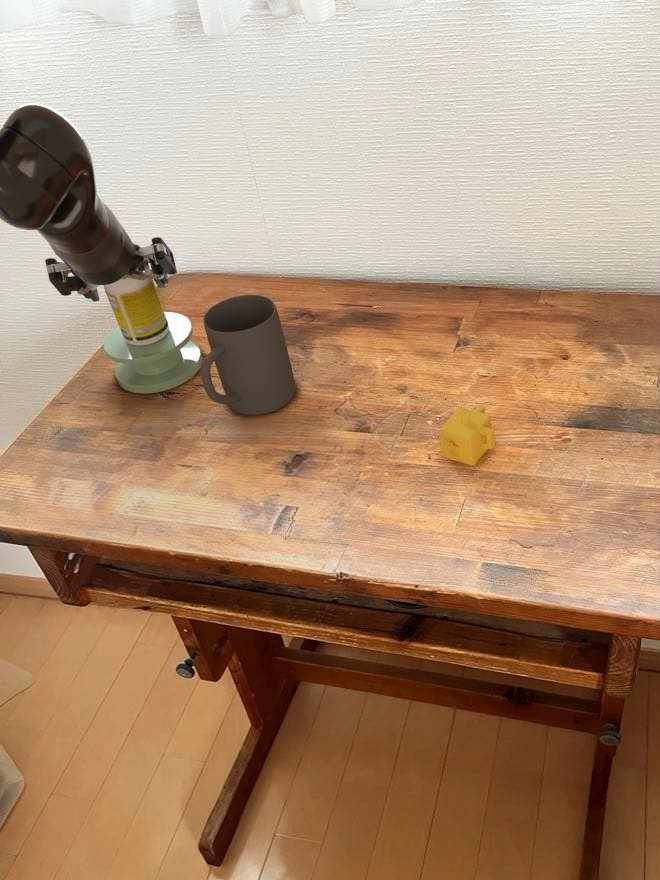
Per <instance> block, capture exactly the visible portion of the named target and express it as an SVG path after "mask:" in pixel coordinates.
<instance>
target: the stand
mask: <svg viewBox="0 0 660 880" xmlns="http://www.w3.org/2000/svg"><path fill="white" fill-rule="evenodd" d="M164 313H165V315H166V318H167V321H168V324H169V331H168V333H167V334H166V336H164V337H163V338H162V339H161V340H159V341H157V342H155V343H152V344H149V345H144V346H136V345H131V344H129V343H127V342H126V340H125V339H124V337H123V334H122V332H121V330H120V327H119V325H117V326H116V327H114V328H113V329H112V330H111V331H109V333H107V335H106V337H105V339H104V341H103V350H104V353H105V354H106V356H107V357H108V358H109V359H110V360H111V361H112V362H113V361H114V362H115V363H116V364H115V367H114V376H115V378H116V381H117V383H118V385H119V386H120V387H121V388H122V389H123V390H125V391H127V392H130V393H135V394H155V393H160V392H165V391H168V390H172V389H174V388H177V387H178V386H181V385H183V384H185V383H186V382H187V381H189V380H191V379H193V377H194V376H195V375H196V374H197V373H198V372H200V369H201V364H202V361H203V360H204V359H203V355H202V352H201V349H200V347H199V346H198V345H197V344H196V343H195V342H194V341H191V339H192V336H193V333H194V329H193V328H194V327H193V325H192V322H191V321H190V319H189V318H188V317H187V316H185V315H183V314H180V313H178V312H171V311H164Z"/></svg>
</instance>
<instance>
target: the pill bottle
mask: <svg viewBox="0 0 660 880" xmlns="http://www.w3.org/2000/svg"><path fill="white" fill-rule="evenodd" d="M136 271H138V268H137V269H136ZM102 286H103V289H104V293H105V295H106V297H107V299H108V302H109V305H110V307H111V310H112V312H113V314H114V317H115V319H116V323H117V325H118V326H119V327H120V330H121V332H122V334H123V337H124V339H125V340H126V342H127V343H129V344H131V345H136V346H144V345H149V344H152V343H155V342H157V341H159V340H161V339H162V338H163V337H164V336H166V334H167V333H168V331H169V324H168V321H167V318H166V315H165V313H164V312H165V309H164V307H163V304H162V301H161V298H160V296H159V293H158V290H157V287H156V284H155V281H154V279H152V278H147V279H145V280H137V279H132V278H126V279H120V280H118V281H117V282H114V283H112V284H108V285H102Z"/></svg>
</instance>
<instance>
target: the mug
mask: <svg viewBox="0 0 660 880" xmlns="http://www.w3.org/2000/svg"><path fill="white" fill-rule="evenodd" d="M203 327H204V330H205V334H206V338H207V341H208V345H209V348H210V352H208V354H207V355H206V356H205V357H204V358H203V359H202V360H203V361H202V364H201V368H200V369H199V372H200V380H201V382H202V387H203V390H204V391H205V393H206V395H207V397H208V398H209V399H210V400H211V401H212V402H214V403H217V404H219V405H226V406H230V407H231V409H233V410H234V411H235V412H237V413H239V414H242V415H247V416H259V415H265V414H270V413H273V412H275V411H277V410H279V409H282V408H283V407H285V406H287V404H289V402H290V401H291V400H292V399H293V398H294V396H295V393H296V382H295V377H294V376H295V375H294V372H293V368H292V367H293V366H292V363H291V359H290V354H289V350H288V346H287V343H286V338H285V335H284V331H283V326H282V323H281V319H280V316H279V312H278V308H277V306H276V304H275V302H274V301H273V300H272V299H270V297H267V296H264V295H258V294H244V295H238V296H233V297H229V298H226V299H224V300H222V301H219V302H218V303H216V304H214V305H213V306H211V307H210V308H208V310H207V311H206V312H205V314H204V316H203ZM213 364H215V367H216V371H217V374H218V376H219V380H220V383H221V386H222V389H223V392H224V394H221V393H219V392H218V391H217V390H216V389H215V386H214V383H213V380H212V376H211V369H212V365H213Z"/></svg>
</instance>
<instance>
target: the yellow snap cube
mask: <svg viewBox="0 0 660 880" xmlns="http://www.w3.org/2000/svg"><path fill="white" fill-rule="evenodd" d="M439 434H440V435H439V439H440V440H439V445H440V446H439V447H440V453H441V456H442V457H443V458H446V459H448V460H451V461H455V462H458V463H462V464H465V465H468V466H470V467H471V466H475V465H477V462H478V461H479V460H480V459H481V457H482V456H484V454H485V453H486V452H487V451H488V450H491V449H493V448H494V447H495V446H496V444H497V443H496V433H495V429H493V426H492V421H491V415H490V414H487V413H486V408H485V406H482V405H477V406H476V407H475V408H474V409H468V408H465V407H459V408H458V409H457V410H456V411H455V412H453V414H451V416H450V417H449V418H448V419H447V420H446V421H445V423H444V424H443V425H442V427H441V428H440V433H439Z"/></svg>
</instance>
